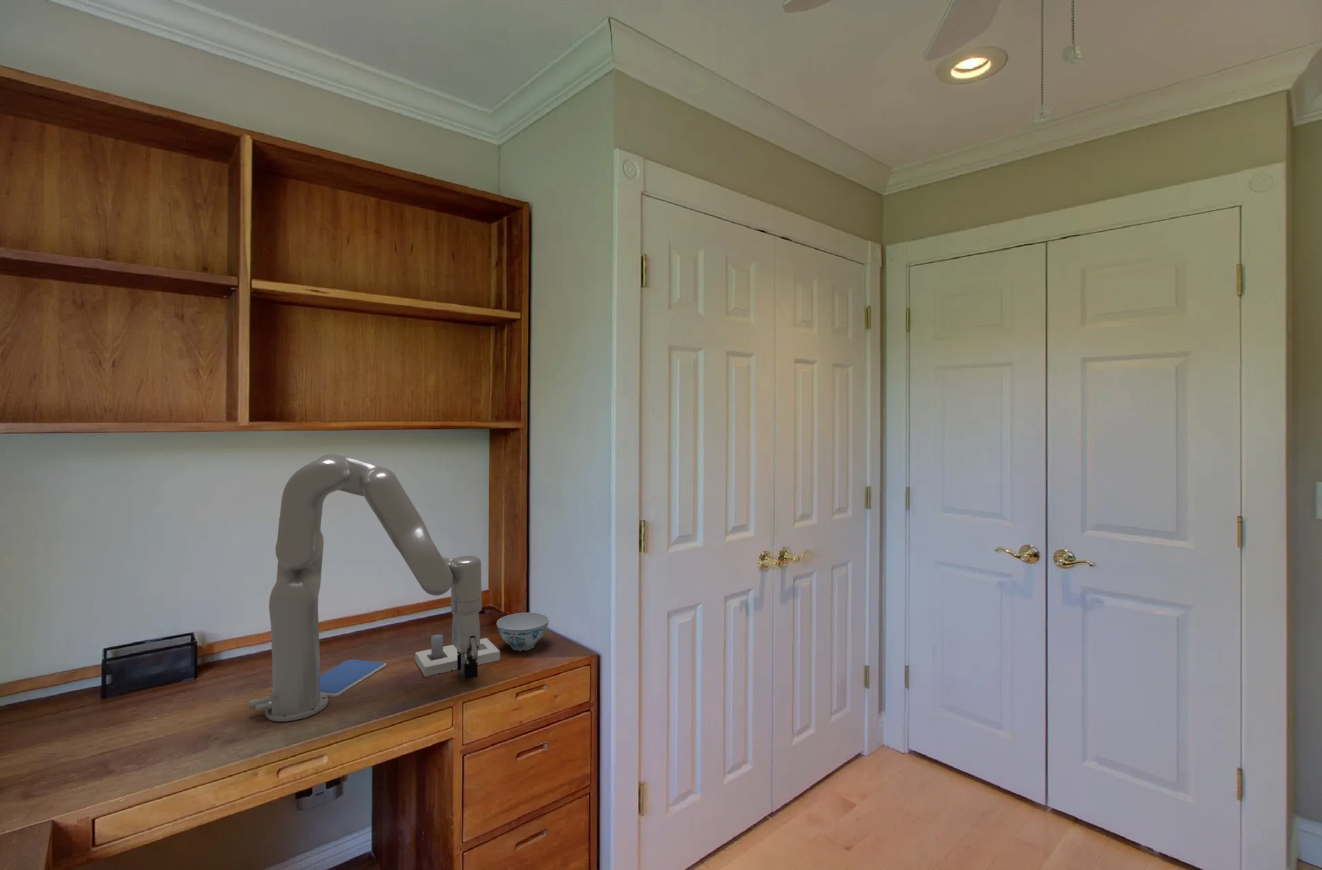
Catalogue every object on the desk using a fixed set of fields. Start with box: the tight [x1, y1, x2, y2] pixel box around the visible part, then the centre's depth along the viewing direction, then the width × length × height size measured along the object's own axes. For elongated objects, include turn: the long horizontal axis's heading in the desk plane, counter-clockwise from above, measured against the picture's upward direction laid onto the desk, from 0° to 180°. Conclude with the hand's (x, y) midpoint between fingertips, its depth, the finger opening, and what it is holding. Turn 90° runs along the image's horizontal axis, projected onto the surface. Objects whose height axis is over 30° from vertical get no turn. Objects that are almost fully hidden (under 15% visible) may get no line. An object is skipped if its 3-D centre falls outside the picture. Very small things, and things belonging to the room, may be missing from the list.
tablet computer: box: [320, 659, 387, 698], centre depth 162 cm, size 19×13×1 cm, turn 167°
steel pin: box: [460, 648, 474, 682], centre depth 161 cm, size 3×3×8 cm
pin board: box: [414, 633, 501, 678], centre depth 173 cm, size 20×12×8 cm, turn 123°
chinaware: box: [496, 612, 550, 652], centre depth 183 cm, size 15×15×8 cm
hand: (467, 672), depth 161 cm, fingers open, 5 cm apart
